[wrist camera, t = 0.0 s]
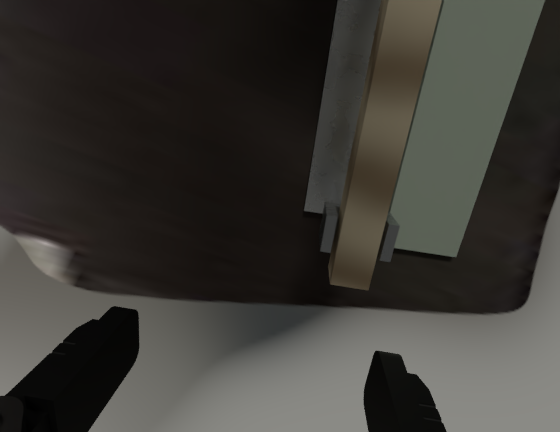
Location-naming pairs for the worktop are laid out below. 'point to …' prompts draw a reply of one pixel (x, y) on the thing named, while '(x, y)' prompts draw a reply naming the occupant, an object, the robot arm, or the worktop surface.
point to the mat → (458, 118)
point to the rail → (380, 135)
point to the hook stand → (343, 119)
